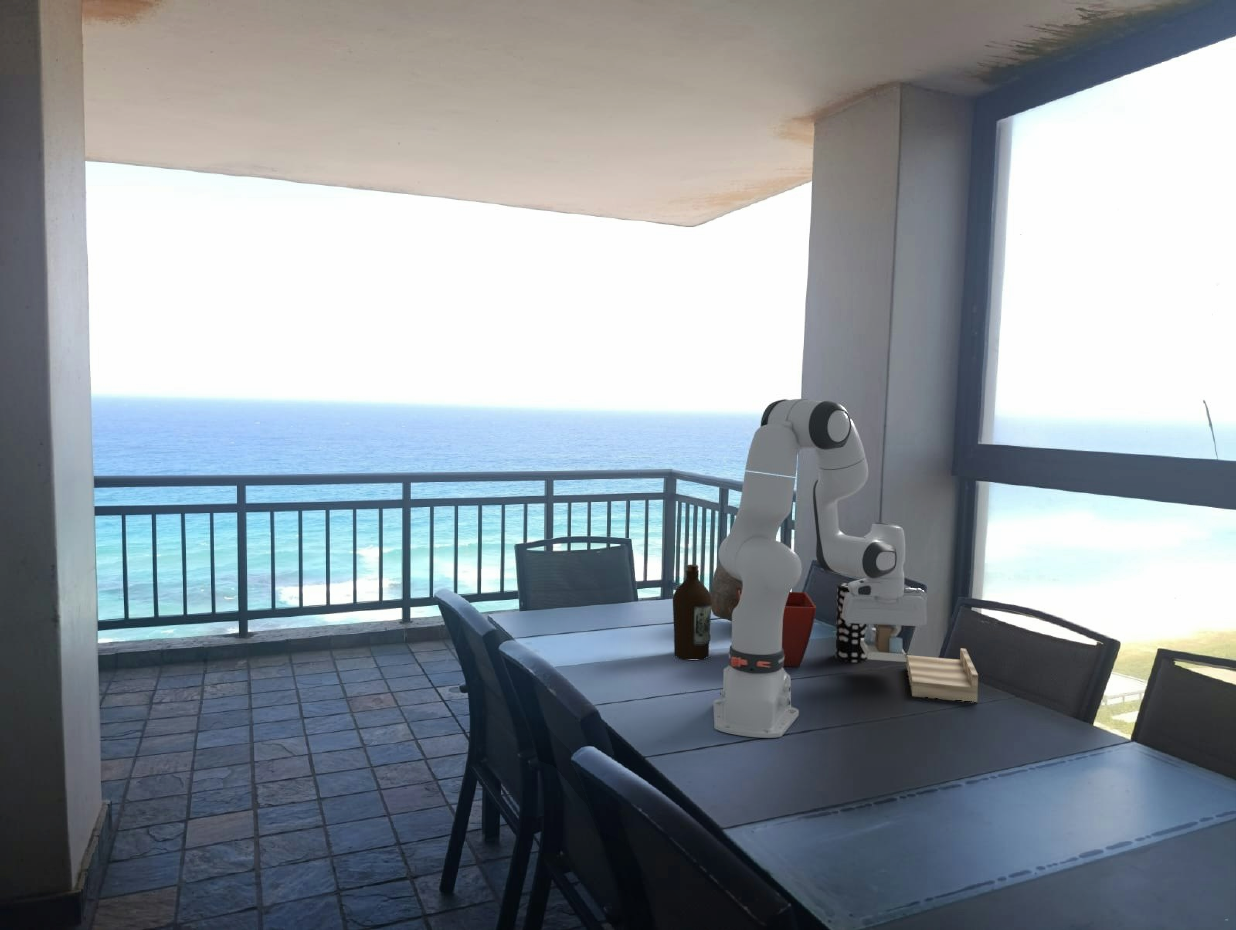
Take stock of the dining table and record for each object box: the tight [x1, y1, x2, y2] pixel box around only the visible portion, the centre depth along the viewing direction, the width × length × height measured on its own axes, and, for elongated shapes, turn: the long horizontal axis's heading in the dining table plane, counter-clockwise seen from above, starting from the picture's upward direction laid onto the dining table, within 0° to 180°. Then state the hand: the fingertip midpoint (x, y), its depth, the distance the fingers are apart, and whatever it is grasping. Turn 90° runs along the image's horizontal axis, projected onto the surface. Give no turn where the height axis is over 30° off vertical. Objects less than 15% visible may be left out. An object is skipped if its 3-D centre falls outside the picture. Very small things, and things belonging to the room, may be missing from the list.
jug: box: [710, 562, 743, 623], centre depth 242 cm, size 24×21×30 cm
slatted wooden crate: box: [906, 648, 979, 703], centre depth 192 cm, size 22×14×6 cm, turn 163°
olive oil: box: [672, 564, 712, 660], centre depth 214 cm, size 11×11×25 cm
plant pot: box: [738, 590, 817, 667], centre depth 211 cm, size 19×19×17 cm
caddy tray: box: [860, 624, 908, 663], centre depth 196 cm, size 13×9×7 cm
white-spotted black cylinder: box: [835, 581, 868, 663], centre depth 213 cm, size 8×8×20 cm
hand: (883, 641), depth 196 cm, fingers closed on caddy tray, 3 cm apart
